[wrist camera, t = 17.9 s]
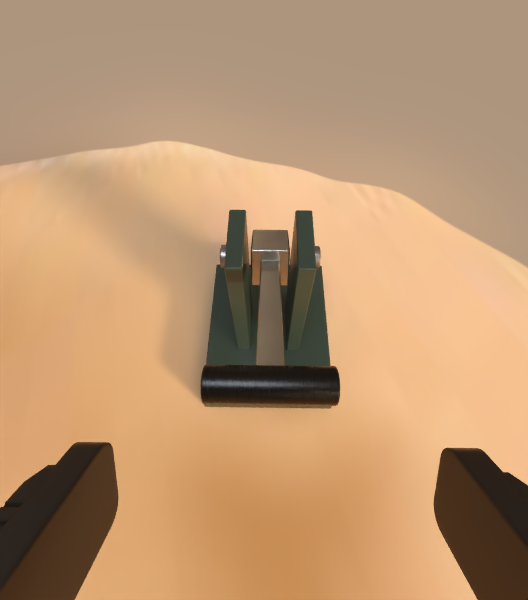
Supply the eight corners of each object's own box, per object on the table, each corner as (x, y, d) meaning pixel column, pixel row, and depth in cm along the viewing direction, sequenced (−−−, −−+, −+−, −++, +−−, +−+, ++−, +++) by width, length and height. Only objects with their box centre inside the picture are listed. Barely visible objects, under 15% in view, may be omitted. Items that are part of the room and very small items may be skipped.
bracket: (330, 408, 27) (375, 344, 16) (204, 406, 27) (164, 341, 16) (319, 274, 34) (345, 163, 23) (218, 273, 34) (196, 162, 23)
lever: (335, 421, 13) (344, 379, 12) (204, 419, 13) (197, 376, 12) (307, 263, 23) (310, 229, 21) (232, 262, 23) (230, 228, 21)
